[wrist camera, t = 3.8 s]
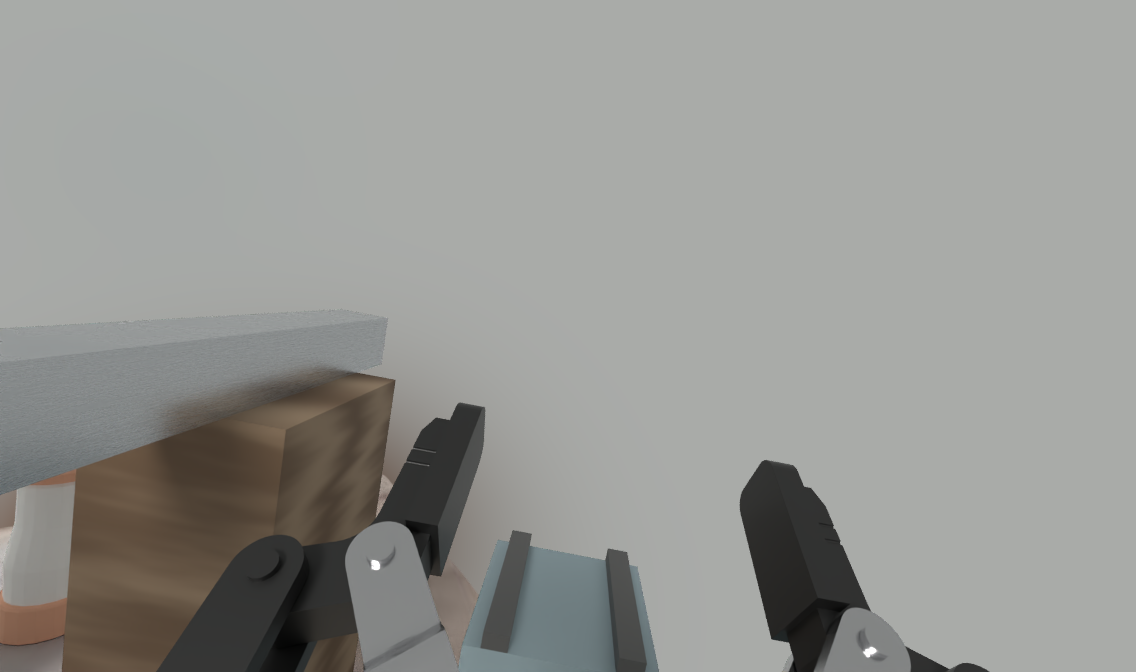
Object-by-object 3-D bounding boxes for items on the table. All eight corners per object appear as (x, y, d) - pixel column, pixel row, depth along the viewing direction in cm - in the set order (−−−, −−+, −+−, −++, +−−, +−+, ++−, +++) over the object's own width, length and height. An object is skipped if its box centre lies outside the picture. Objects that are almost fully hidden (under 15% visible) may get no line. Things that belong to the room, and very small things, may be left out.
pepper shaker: (-33, 635, 39) (-24, 436, 37) (66, 583, 46) (78, 414, 45) (38, 653, 39) (51, 453, 37) (127, 598, 46) (142, 428, 44)
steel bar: (335, 355, 36) (341, 309, 36) (381, 364, 36) (387, 317, 36) (-280, 505, 10) (-282, 344, 10) (-120, 536, 10) (-117, 375, 10)
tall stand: (227, 717, 36) (269, 352, 33) (353, 742, 36) (407, 378, 33) (8, 979, 22) (45, 393, 19) (211, 1021, 22) (281, 438, 19)
